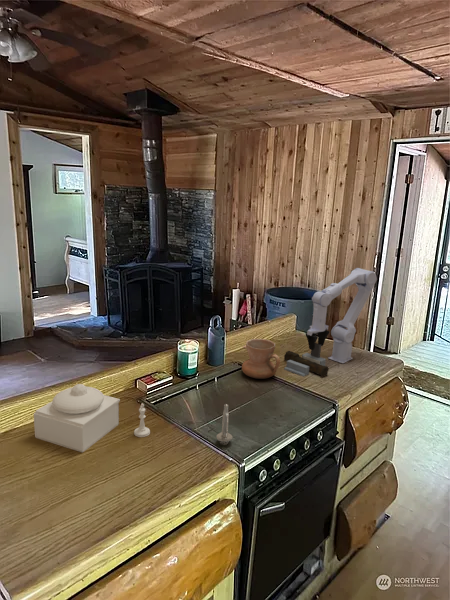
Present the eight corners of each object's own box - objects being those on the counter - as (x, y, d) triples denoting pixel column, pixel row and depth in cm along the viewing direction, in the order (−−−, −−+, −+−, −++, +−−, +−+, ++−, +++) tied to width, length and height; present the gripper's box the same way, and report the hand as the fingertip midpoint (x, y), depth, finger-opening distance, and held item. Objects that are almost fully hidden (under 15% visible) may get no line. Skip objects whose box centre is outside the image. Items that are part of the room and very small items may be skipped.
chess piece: (152, 430, 138) (153, 401, 135) (145, 438, 133) (145, 408, 131) (139, 427, 139) (139, 398, 137) (130, 435, 135) (130, 405, 132)
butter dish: (35, 438, 131) (32, 389, 127) (76, 411, 147) (74, 367, 143) (83, 453, 125) (81, 402, 121) (120, 424, 141) (119, 378, 137)
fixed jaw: (289, 366, 195) (290, 359, 194) (309, 373, 188) (309, 366, 187) (284, 369, 192) (284, 361, 191) (303, 376, 185) (304, 368, 184)
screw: (215, 438, 135) (230, 438, 136) (217, 447, 130) (233, 446, 131) (217, 400, 132) (232, 399, 133) (219, 408, 127) (235, 407, 128)
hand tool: (328, 376, 188) (330, 363, 186) (321, 378, 184) (323, 366, 183) (288, 359, 204) (290, 348, 203) (281, 361, 201) (283, 350, 200)
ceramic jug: (232, 373, 184) (233, 341, 181) (252, 364, 195) (254, 334, 191) (267, 387, 173) (269, 353, 170) (286, 377, 184) (289, 345, 180)
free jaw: (306, 359, 204) (308, 340, 202) (325, 366, 198) (327, 346, 195) (301, 362, 201) (303, 342, 199) (320, 368, 194) (322, 348, 192)
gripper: (320, 313, 203) (317, 341, 206) (302, 319, 192) (299, 348, 196) (333, 317, 198) (330, 345, 201) (316, 323, 188) (313, 352, 191)
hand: (316, 347), depth 198 cm, fingers open, 7 cm apart
